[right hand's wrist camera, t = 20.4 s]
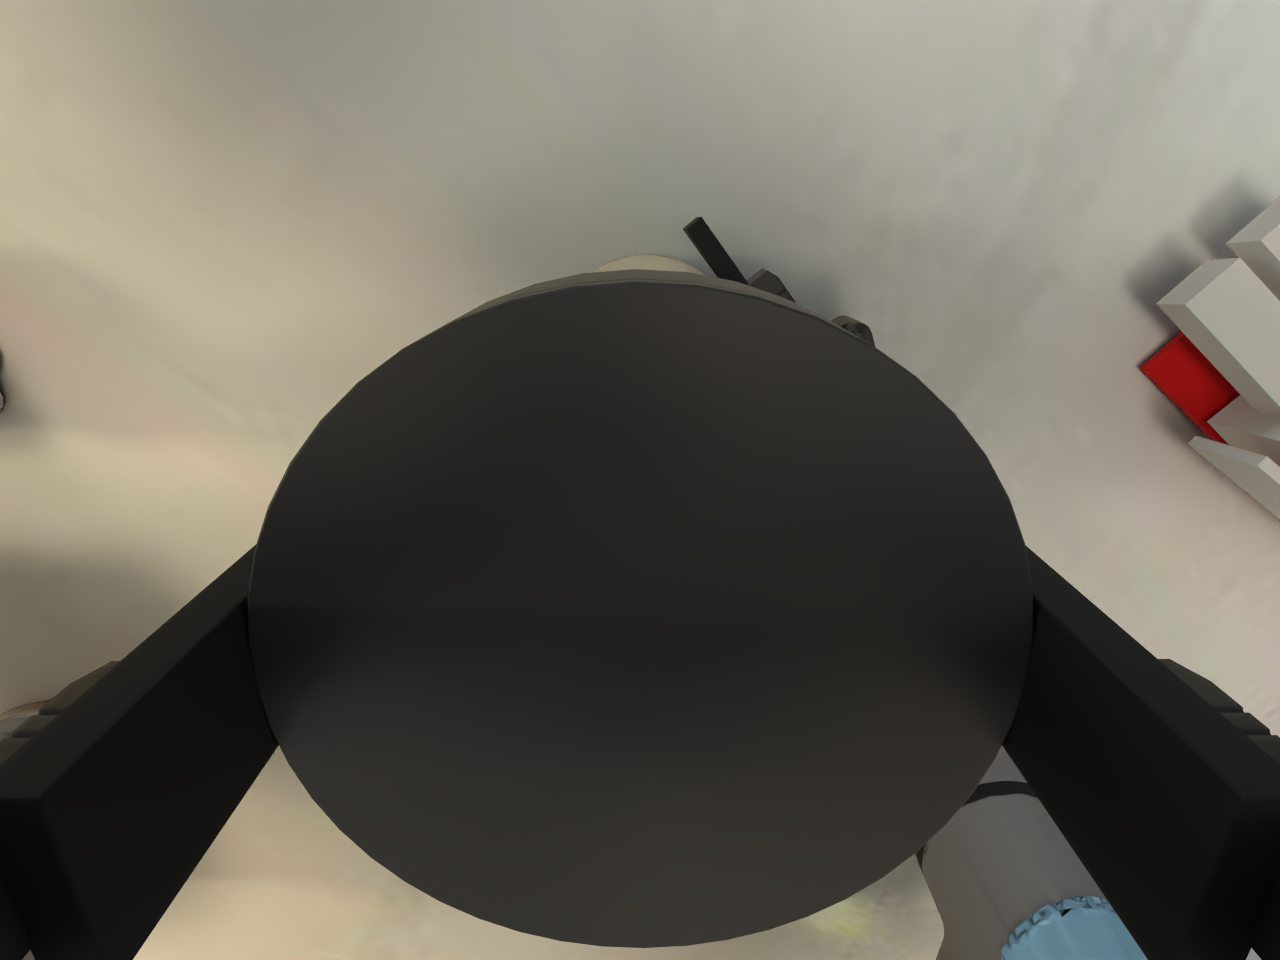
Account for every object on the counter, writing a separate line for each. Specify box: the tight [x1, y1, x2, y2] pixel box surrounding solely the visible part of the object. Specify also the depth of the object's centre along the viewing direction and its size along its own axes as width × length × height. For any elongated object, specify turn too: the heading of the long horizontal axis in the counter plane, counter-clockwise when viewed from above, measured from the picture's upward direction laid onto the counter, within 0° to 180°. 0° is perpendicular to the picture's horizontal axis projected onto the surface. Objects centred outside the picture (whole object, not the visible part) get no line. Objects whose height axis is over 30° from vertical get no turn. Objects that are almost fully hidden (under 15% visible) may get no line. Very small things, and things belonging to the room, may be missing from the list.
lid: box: [248, 269, 1033, 948], centre depth 11 cm, size 12×12×2 cm
